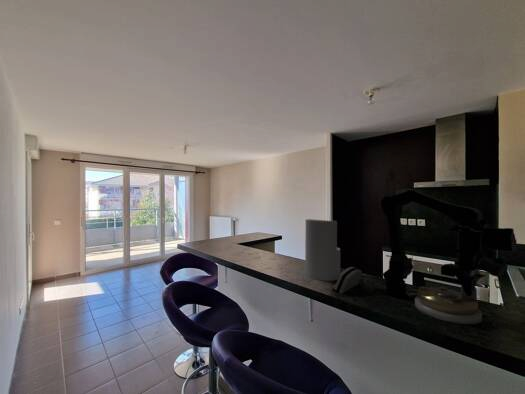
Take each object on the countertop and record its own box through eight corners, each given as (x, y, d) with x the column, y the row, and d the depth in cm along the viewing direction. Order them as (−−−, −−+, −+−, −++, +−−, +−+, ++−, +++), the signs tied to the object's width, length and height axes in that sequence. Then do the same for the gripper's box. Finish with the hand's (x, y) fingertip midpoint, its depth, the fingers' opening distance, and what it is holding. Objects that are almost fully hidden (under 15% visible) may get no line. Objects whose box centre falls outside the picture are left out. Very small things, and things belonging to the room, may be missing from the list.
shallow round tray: (418, 307, 79) (418, 285, 79) (417, 292, 92) (417, 274, 92) (483, 319, 70) (483, 295, 70) (471, 301, 84) (471, 281, 84)
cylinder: (325, 283, 109) (325, 221, 110) (298, 273, 123) (298, 219, 124) (347, 276, 119) (347, 220, 120) (320, 268, 133) (320, 218, 134)
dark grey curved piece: (347, 281, 112) (354, 262, 109) (357, 287, 108) (364, 267, 106) (330, 290, 100) (337, 269, 98) (340, 297, 96) (348, 275, 94)
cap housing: (417, 296, 94) (417, 291, 94) (479, 309, 82) (479, 303, 83) (411, 312, 80) (411, 306, 80) (485, 330, 68) (485, 323, 68)
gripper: (484, 252, 66) (484, 310, 65) (517, 250, 73) (518, 301, 72) (440, 246, 76) (440, 295, 75) (473, 244, 83) (473, 289, 83)
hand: (468, 295), depth 76 cm, fingers closed
